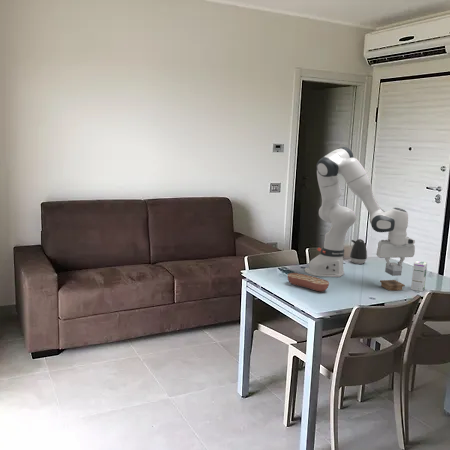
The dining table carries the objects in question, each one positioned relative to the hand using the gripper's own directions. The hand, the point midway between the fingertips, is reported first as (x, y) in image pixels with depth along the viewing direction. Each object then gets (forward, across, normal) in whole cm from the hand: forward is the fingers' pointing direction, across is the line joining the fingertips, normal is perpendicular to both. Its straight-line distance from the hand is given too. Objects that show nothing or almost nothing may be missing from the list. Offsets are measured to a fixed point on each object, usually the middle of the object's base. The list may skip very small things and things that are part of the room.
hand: (394, 265), depth 259 cm
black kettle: (+13, +8, +51) cm, 53 cm away
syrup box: (+13, +13, -3) cm, 19 cm away
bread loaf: (+12, -45, +5) cm, 47 cm away
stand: (+12, 0, 0) cm, 12 cm away
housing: (+4, 0, 0) cm, 4 cm away
